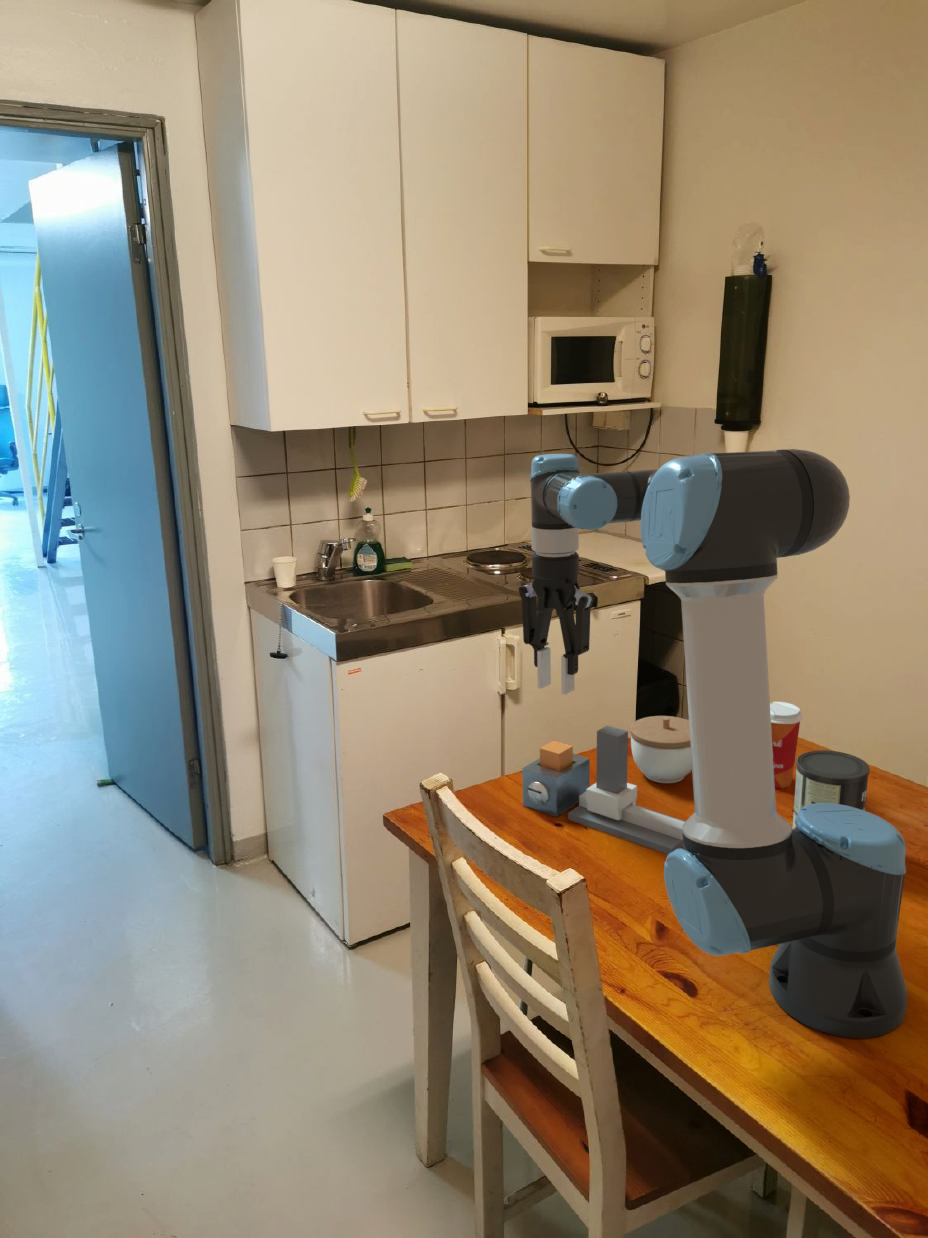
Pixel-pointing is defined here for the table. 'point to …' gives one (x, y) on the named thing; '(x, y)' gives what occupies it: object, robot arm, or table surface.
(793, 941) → the robot arm
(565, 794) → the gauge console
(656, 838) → the rail bed
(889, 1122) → the table surface
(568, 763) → the button
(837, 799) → the coffee can
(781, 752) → the paper cup
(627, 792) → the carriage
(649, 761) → the lidded bowl
